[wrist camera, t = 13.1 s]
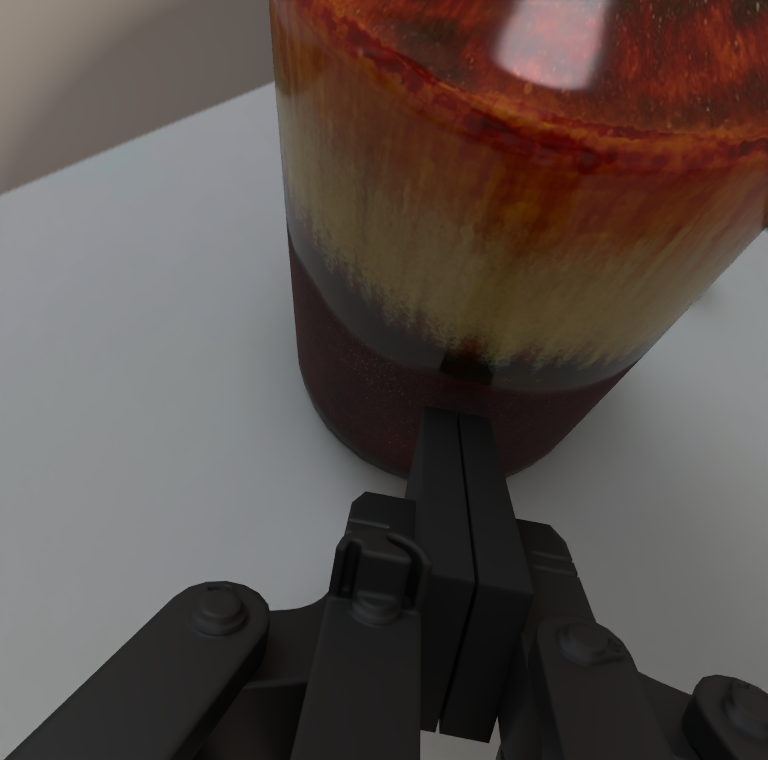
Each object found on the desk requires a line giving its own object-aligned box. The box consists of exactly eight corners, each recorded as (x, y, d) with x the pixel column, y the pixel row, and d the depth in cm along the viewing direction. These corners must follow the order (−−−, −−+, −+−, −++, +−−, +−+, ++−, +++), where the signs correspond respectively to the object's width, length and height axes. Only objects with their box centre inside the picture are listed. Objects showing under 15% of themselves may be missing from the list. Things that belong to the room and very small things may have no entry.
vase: (432, 191, 26) (664, -895, 8) (640, 352, 24) (1667, -740, 6) (235, 342, 22) (-151, -1114, 4) (458, 556, 20) (2001, -940, 2)
